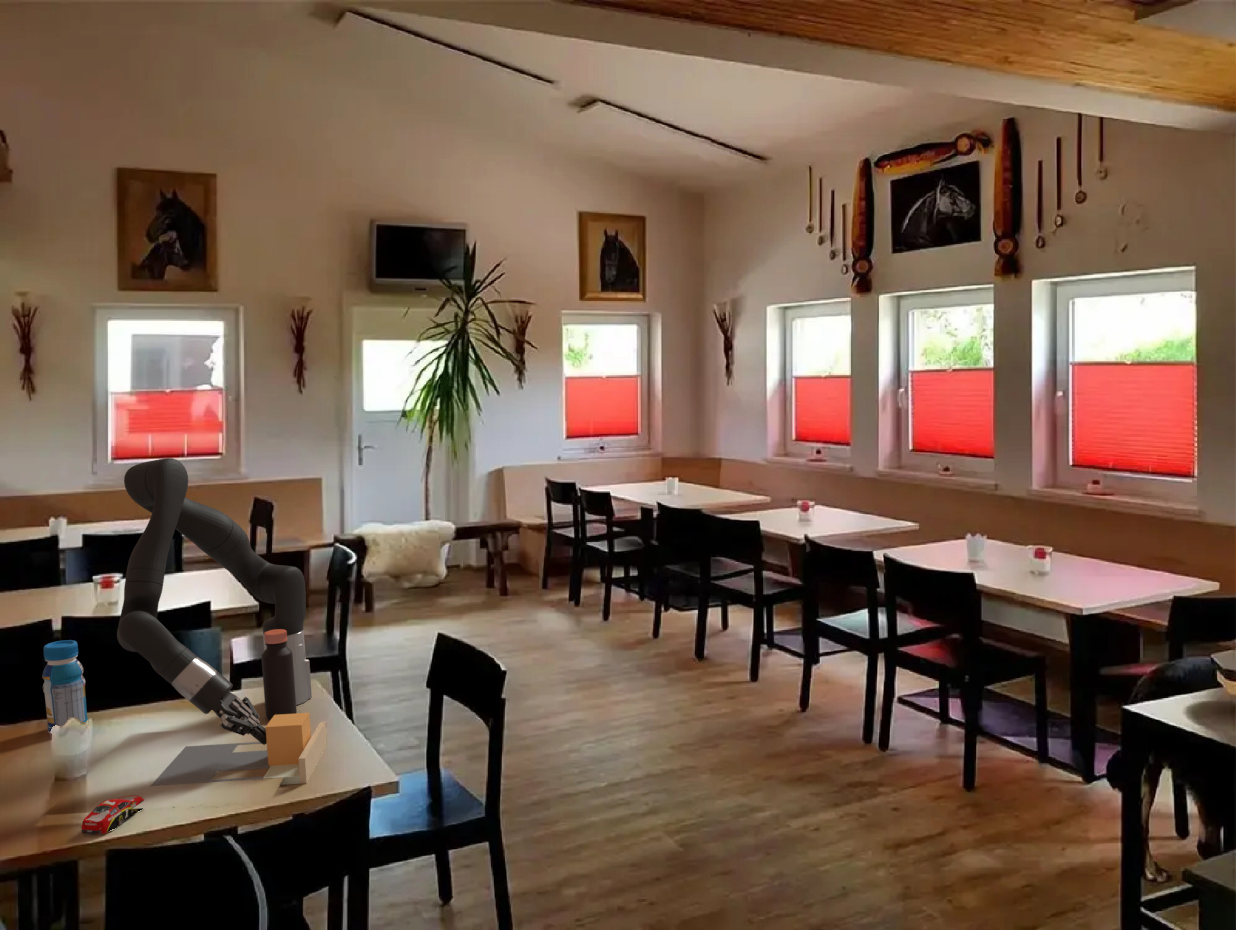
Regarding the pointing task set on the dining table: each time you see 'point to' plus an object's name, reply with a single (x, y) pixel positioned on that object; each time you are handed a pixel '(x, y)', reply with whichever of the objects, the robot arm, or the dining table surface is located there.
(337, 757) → the dining table surface
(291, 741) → the orange block
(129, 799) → the race car
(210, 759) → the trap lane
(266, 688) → the vinegar
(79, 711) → the beverage bottle
